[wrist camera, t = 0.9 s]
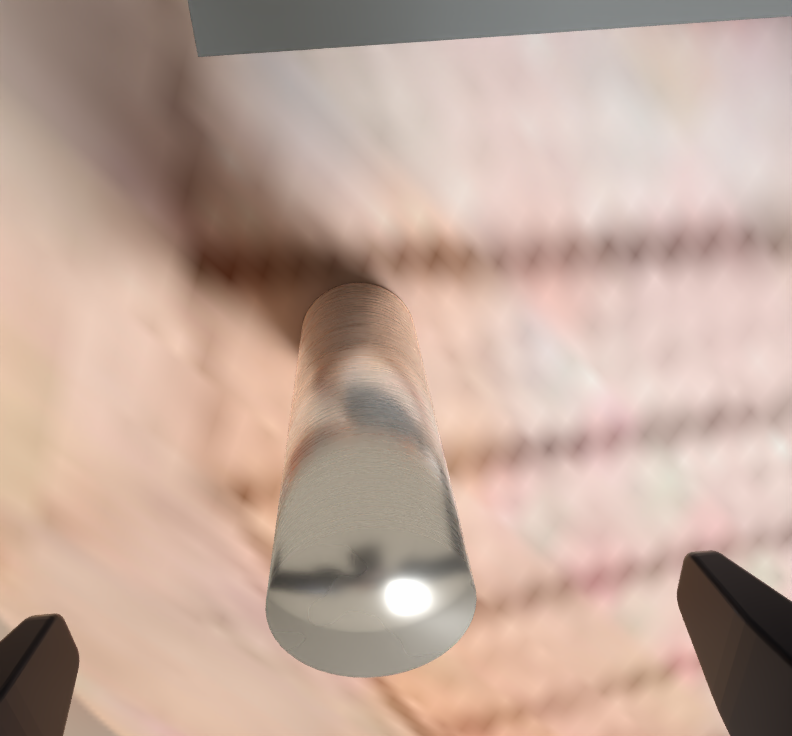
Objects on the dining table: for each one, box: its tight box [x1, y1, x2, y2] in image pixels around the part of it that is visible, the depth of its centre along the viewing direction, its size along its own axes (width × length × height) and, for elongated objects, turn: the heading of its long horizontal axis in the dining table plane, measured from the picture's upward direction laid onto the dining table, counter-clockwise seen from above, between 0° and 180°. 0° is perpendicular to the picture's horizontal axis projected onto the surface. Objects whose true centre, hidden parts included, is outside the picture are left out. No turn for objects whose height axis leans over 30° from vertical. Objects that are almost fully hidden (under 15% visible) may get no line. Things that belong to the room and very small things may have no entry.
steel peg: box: [266, 283, 476, 678], centre depth 13 cm, size 3×3×9 cm
